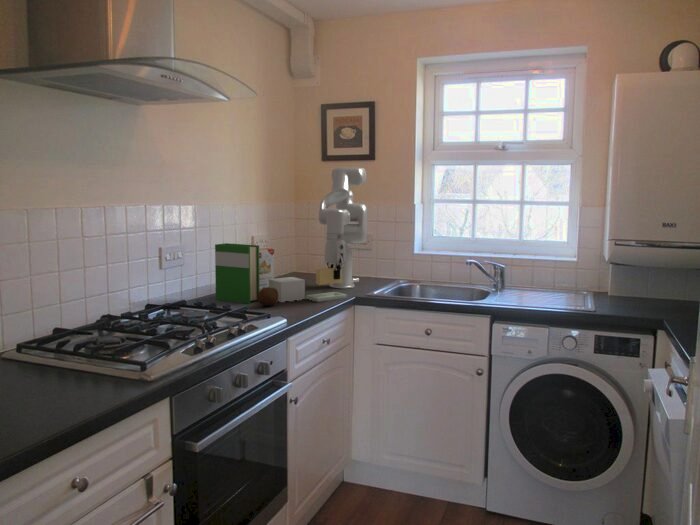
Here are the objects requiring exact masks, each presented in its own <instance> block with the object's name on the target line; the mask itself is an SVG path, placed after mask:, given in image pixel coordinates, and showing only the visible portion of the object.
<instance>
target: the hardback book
mask: <svg viewBox="0 0 700 525" xmlns="http://www.w3.org/2000/svg"><path fill="white" fill-rule="evenodd" d="M259 249H260V245H255V244H243V243H242V244H240V243H227V242H226V243H217V244H214V254H215V256H214V259H215V260H214V261H215V262H214V264H215V265H214V266H215V272H214V273H215V274H214V275H215V300H217V301H224V302H234V303H241V304H248V303H250V304H251V302H252V301H253V300H257V295H258V293H259Z"/></svg>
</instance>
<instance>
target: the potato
mask: <svg viewBox="0 0 700 525" xmlns="http://www.w3.org/2000/svg"><path fill="white" fill-rule="evenodd" d="M257 300H258V301H257V302H258V304H260V305H263V306H268V307H273V306H275V305H276V304H277V302H278V301H277V300H278V292H277V290H276V289H275V288H270V287H267V288H264V289H262V290H261V291H260V292H259V293H258V295H257Z"/></svg>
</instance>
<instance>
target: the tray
mask: <svg viewBox="0 0 700 525" xmlns="http://www.w3.org/2000/svg"><path fill="white" fill-rule="evenodd" d="M307 299H309V300H308V301H311V300H312V301H311V302H314V301H315V303H323V301H325V302H329V301H330V302H332V301H338V300H346V299H348V294H347V293H342V292H338V291H332V292H325V293H324V292H323V293H317V294H316V293H314V294H307V295H306V300H307ZM331 300H332V301H331Z"/></svg>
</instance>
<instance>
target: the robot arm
mask: <svg viewBox="0 0 700 525" xmlns="http://www.w3.org/2000/svg"><path fill="white" fill-rule="evenodd" d="M331 179H332V180H331V181H332V186H331V191H330V192H329V193H327V194H326V195H325V196H324V197H323V199H322V200H321V202H320V204H319V210H318V216H317V217H318V222H319V223H320V224H321V225H323V226H326V240H325V246H324V247H325V248H324V262H325V264H326V265H327V268H335V270H334V279H340V270H341V268H342V283H333V284H329V287H330V288H333V289H353V288H355V287H356V286H355V283H359V282H360V278H359V277H357V278H354V277H352V275H353V251H352V249H351V247H350V246H349V245H348V244H364V243H366V242H367V237H368V217H369V216H368V208H367V205H366V204H364V203H357V202H356V203H355V202H354V193H353V191H352V189H351V186H363V185H364V184H366V180H367V171H366V168H364V167H352V166H351V167H350V166H348V167H347V166H345V167H343V166H342V167H341V166H339V167H336V168H332V170H331ZM334 205H335V208H330V207H331V206H334ZM356 223H357V224H356Z"/></svg>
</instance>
